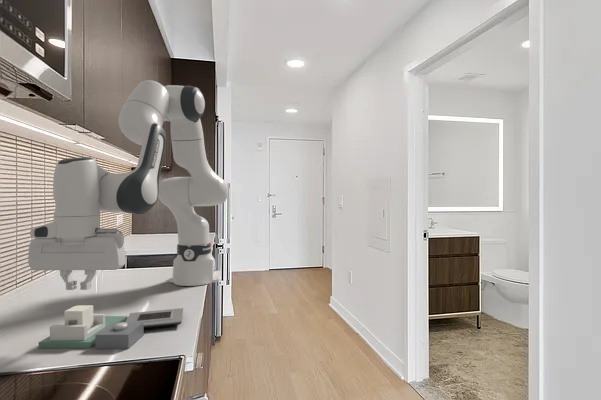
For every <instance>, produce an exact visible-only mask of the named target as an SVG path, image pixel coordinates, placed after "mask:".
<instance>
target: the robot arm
mask: <svg viewBox="0 0 601 400" xmlns="http://www.w3.org/2000/svg"><path fill="white" fill-rule="evenodd" d="M205 109H206V99H205V95H204V94H203V92H202V91H201V89H200V88H198V87H196V86H192V85H177V84H176V85H173V84H172V85H171V84H168V85H163V84H162V83H160V82H158V81H156V80H152V79H151V80H150V79H148V80H147V79H146V80H143V81H141V82H139V83H138V84H137V85H136V86H135V88H134V89H133V90H132V91H131V93H130V94H129V96H127V99H126V101H125V103H124V104H123V106H122V108H121V110H120V112H119V115H118V119H117V121H118V122H117V123H118V127H119V129H120V131H121V132H122V134H123V135H124V136H125V137H126V138H127V139H128V140H130V141H131V142H133V143H134V144H136V145H139V146H141V149H140V154H139V156H138V160H137V161H138V162H137V165H136V167H135V168H134V169H133V170H131V171H129V172H126V173H123V172H121V173H111V172H110V171H107V170H105V169H103V168H102V167H101V166H100V165H98V163H97V160H96V159H95V158H93V157H90V156H89V157H87V156H85V157H80V156H79V157H71V158H70V157H69V158H62V159H60V160H59V161H58V162H57V163H56V164H55V167H54V172H53V177H52V179H53V181H52V183H53V184H52V193H53V194H52V197H53V201H54V203H55V208H54V212H53V221H51V222H48V223H45V224H42V225H39V226H36V227H34V228H31V229H30V231H29V237H30V238H32V240H31V241H30V243H29V245H28V254H27V255H28V256H27V258H28V259H27V261H28V262H27V263H28V267H29V268H30V269H31V270H32V271H59V276H60V277H61V279H62V280H63V282H64V283H65V291H74V290H77V288H78V280H74V279H73V276H72V275H71V274H73V271H84V275H85V276H86V277H85V279H84V280H83V281H81V282H79V289H80V290H81V291H85V290H86V291H88V290H90V289H91V288H92V281H93V279H94V277H95V276H96V275H97V271H117V270H120V269H122V268H123V267H124V266H125V264H126V262H127V261H126V260H127V259H126V252H125V248H124V247H125V246H124V245H125V244H124V243H125V241H124V240H125V239H124V238H125V236H124V233H123V232H122V231H121V230H119V229H118V228H106V227H105V228H104V227H103V228H101V215H100V214H101V213H102V212H104V213H126V214H133V215H134V214H135V215H144V214H146V213H148V212H149V211H151V210H152V209H153V208H154V207H155V205H156V203H157V202H158V199H159V202H160V203H162V204H163V205H164V206H165V207H167V208H168V209H169V210H170V212H171V213H172V215H173V216H174V219H175V222H176V226H177V240H178V242H177V245H176V254H177V256H176V257H175V258H174V259H173V263H172V277H170V278H169V279H168V282H169V283H171V284H174V285H176V286H183V287H184V286H185V287H193V286H194V287H195V286H203V285H207V284H211V283H218V282H219V283H220V282H221V278H222V277H221V276H222V271H221V270H217V268H216V259H215V258H214V256H213V255H212V242H211V241H210V225H209V222H208V220H207V219H206V218H205V217H202V216H200V215H199V214H197V212H196V211H195V208H194V207H213V206H219V205H222V204H224V203H225V202H226V200H227V199H228V196H229V187H228V184H227V182H226V181H225V179H223V178H222V177H220V176H219V174H217V173H215V171H214V170H213V169H212V167H211V166H210V164H209V162H208V159H207V153H206V148H205V138H204V137H205V136H204V131H203V130H204V129H203V125H202V121H201V118H202V116H203V115H204V113H205ZM164 122H170V141H171V147H172V157H173V161H174V163H175V164H176V165H178V166H179V167H181V168H183V169H184V170H186V171H187V172H188V173H189V174H190V176H174V177H168V178H164V179H162V180H161V181H160V176H161V173H162V168H163V167H162V166H163V163H164V157H165V152H166V147H167V133H166V131H165V129H164V128H163V125H164ZM100 212H101V213H100Z"/></svg>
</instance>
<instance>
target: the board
mask: <svg viewBox="0 0 601 400" xmlns="http://www.w3.org/2000/svg"><path fill="white" fill-rule="evenodd" d="M127 318H128V315H106V313H93V323H94V327H92V328H91V329H89V330H88V331H87V325H65V324H52V325H50V326H49V336H48V337H46V338H44V339H42V340H40V341H38V345H37V346H38V347H37V348H38V349H89V348H92V347H93V346H94V345H95V346H96V344H95V335H96V334H97V333H99V332H100V331H102V330H103V329H105V328H106V327H107V326H109V325H110V324H112V323H122V322H125V321H126V320H127Z"/></svg>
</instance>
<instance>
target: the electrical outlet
mask: <svg viewBox="0 0 601 400" xmlns="http://www.w3.org/2000/svg"><path fill="white" fill-rule="evenodd" d="M183 314H184V307H181V308H170V309H158V310H150V311H149V310H148V311H147V310H146V311H136V312H130V313H129V315H127V320H126V321H125V323H133V322H143V327H144V329H152V328H159V327H170V326H179V325H181V324H182V323H183Z"/></svg>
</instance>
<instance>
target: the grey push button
mask: <svg viewBox="0 0 601 400" xmlns="http://www.w3.org/2000/svg"><path fill="white" fill-rule="evenodd" d="M144 329H145V328H144V327H143V322H133V323H125V322H122V323H112V324H110V325H109V326H107V327H106V328H105V329H103V330H102V331H100V332H99V333H97V334H96V335H95V349H96V350H102V349H103V350H106V349H107V350H108V349H109V350H112V349H113V350H119V349H120V350H125V349H127V350H129V349H130V348H131V347H132V346H133V345H135V344H136V343H137V342H138V341H139V340H140V339H142V337H144V335H145V334H144V331H145V330H144Z"/></svg>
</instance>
